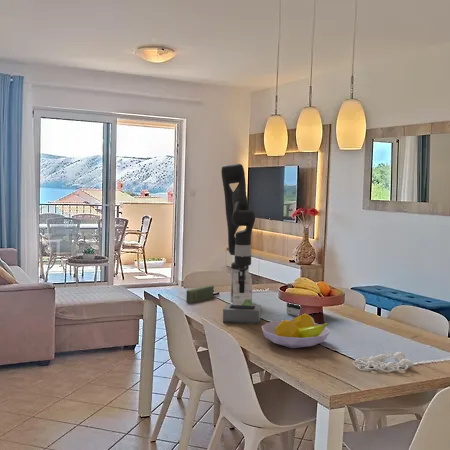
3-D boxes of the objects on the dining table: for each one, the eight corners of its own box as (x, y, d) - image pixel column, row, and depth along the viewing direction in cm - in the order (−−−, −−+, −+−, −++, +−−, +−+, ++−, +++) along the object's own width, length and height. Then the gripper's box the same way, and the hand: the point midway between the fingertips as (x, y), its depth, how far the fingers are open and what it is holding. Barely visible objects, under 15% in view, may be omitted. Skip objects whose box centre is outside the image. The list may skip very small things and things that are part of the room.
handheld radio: (185, 302, 293) (216, 295, 312) (189, 303, 290) (220, 296, 310) (185, 290, 292) (216, 283, 311) (190, 291, 290) (221, 284, 309)
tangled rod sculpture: (360, 379, 186) (361, 367, 185) (348, 361, 200) (348, 350, 199) (418, 376, 187) (418, 364, 186) (401, 359, 201) (401, 348, 201)
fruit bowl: (250, 337, 228) (250, 310, 227) (308, 331, 238) (309, 305, 237) (282, 358, 202) (282, 327, 201) (346, 350, 212) (347, 321, 211)
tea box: (301, 317, 262) (302, 286, 261) (285, 313, 270) (286, 283, 269) (322, 312, 272) (323, 282, 271) (306, 309, 280) (307, 279, 278)
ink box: (252, 303, 258) (252, 271, 256) (251, 305, 253) (252, 273, 252) (233, 302, 259) (233, 271, 257) (232, 305, 254) (232, 272, 252)
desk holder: (226, 316, 263) (226, 303, 263) (260, 317, 261) (260, 305, 260) (222, 322, 251) (223, 309, 251) (258, 324, 249) (258, 311, 249)
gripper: (236, 252, 261) (236, 288, 263) (232, 256, 247) (232, 294, 249) (252, 252, 260) (252, 288, 262) (249, 256, 246) (249, 295, 248)
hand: (242, 291), depth 255 cm, fingers closed on ink box, 5 cm apart
